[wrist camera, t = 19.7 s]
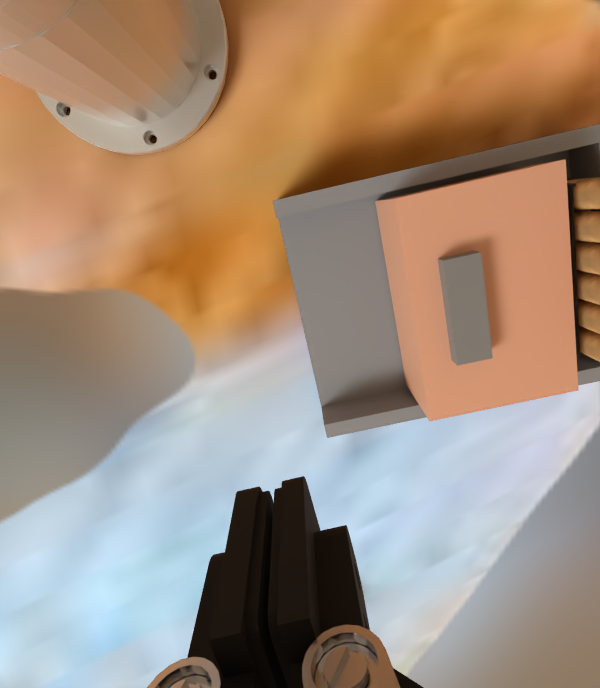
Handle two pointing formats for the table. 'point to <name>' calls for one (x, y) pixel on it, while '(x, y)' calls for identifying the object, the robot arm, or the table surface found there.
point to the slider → (483, 289)
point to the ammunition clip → (585, 262)
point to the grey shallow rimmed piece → (384, 277)
